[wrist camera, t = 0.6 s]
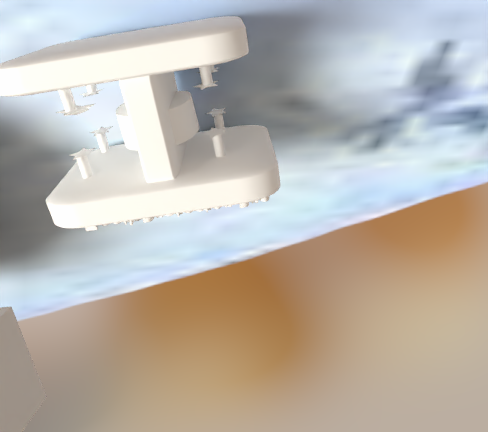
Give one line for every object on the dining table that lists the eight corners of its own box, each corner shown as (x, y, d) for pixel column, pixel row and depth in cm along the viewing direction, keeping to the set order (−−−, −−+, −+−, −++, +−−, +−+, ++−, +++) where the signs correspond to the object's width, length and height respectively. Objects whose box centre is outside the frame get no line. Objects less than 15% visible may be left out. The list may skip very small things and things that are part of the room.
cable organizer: (250, 9, 33) (263, 20, 22) (268, 146, 38) (285, 207, 27) (50, 42, 33) (-28, 68, 23) (93, 173, 38) (45, 243, 28)
